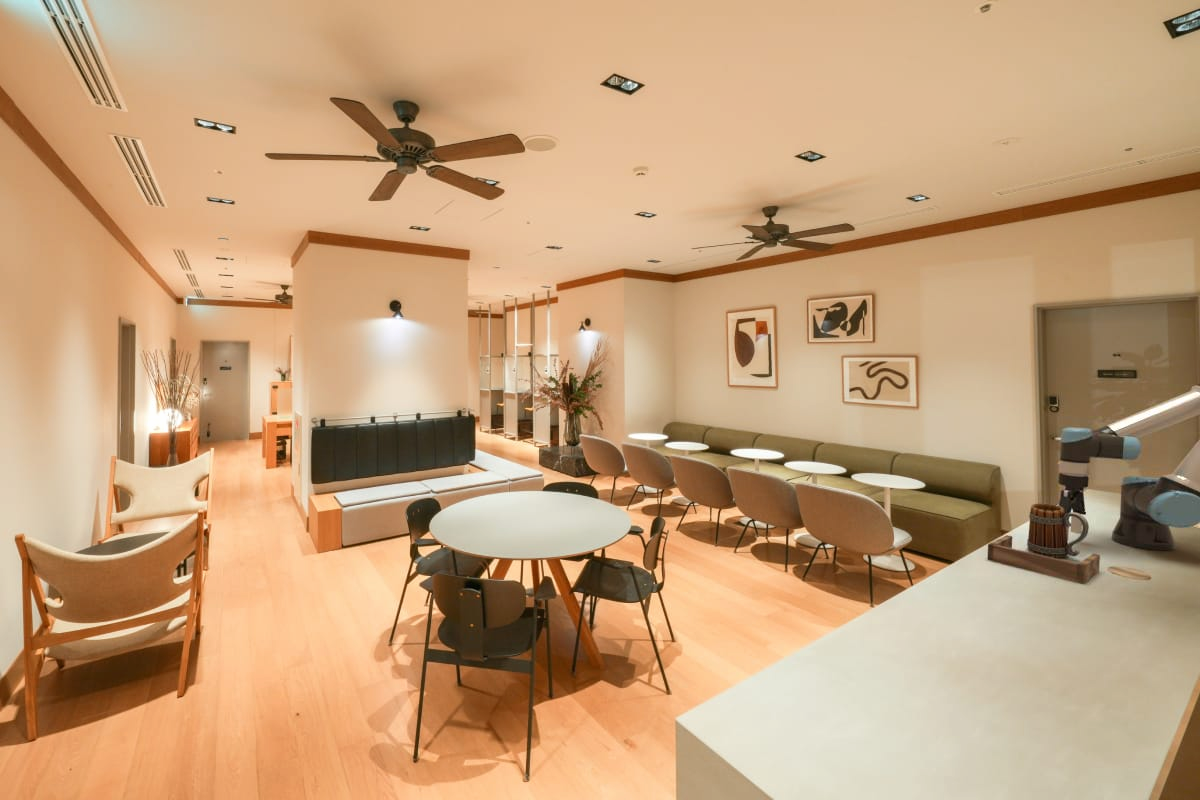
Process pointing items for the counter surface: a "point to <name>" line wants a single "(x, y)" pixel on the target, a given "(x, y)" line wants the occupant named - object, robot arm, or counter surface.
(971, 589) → the counter surface
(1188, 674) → the counter surface
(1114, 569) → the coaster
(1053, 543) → the mug
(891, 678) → the counter surface
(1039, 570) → the bay
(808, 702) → the counter surface
